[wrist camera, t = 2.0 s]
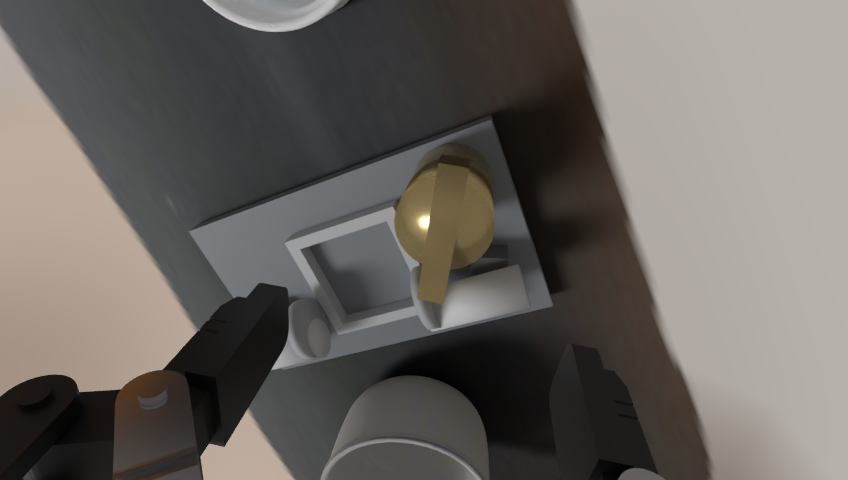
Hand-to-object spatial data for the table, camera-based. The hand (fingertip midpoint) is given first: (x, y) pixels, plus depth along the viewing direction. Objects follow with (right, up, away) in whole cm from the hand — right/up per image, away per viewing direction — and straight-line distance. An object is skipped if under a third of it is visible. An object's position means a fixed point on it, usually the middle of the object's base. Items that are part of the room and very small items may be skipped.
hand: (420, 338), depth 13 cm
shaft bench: (-3, +2, +16) cm, 16 cm away
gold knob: (+2, +6, +12) cm, 13 cm away
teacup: (+1, -11, +22) cm, 25 cm away
